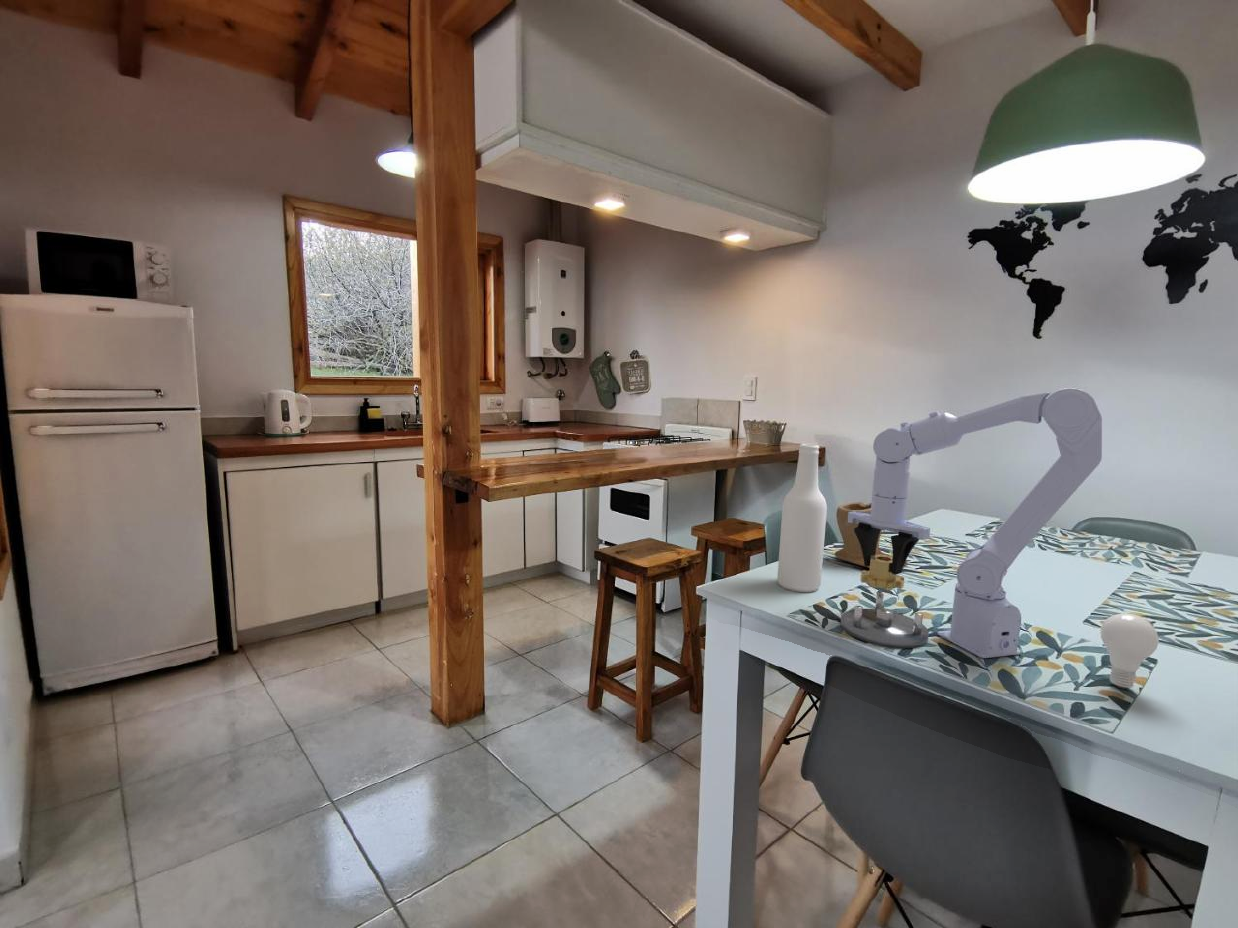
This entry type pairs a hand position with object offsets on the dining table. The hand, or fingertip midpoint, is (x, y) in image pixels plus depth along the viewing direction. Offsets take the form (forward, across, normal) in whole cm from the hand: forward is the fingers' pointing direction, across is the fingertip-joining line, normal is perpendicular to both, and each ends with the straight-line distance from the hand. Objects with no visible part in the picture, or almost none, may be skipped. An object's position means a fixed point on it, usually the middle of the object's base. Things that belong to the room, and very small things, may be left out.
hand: (882, 569), depth 109 cm
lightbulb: (+10, -34, -7) cm, 36 cm away
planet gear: (+2, 0, 0) cm, 3 cm away
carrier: (+9, -4, +4) cm, 11 cm away
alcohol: (+10, +19, -2) cm, 22 cm away
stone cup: (+10, +20, -28) cm, 36 cm away
